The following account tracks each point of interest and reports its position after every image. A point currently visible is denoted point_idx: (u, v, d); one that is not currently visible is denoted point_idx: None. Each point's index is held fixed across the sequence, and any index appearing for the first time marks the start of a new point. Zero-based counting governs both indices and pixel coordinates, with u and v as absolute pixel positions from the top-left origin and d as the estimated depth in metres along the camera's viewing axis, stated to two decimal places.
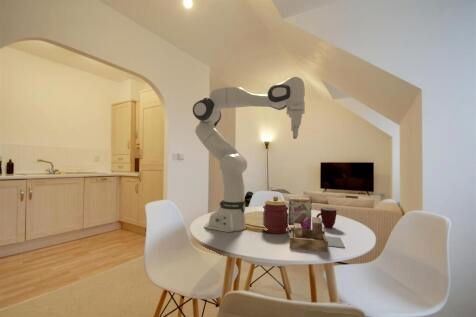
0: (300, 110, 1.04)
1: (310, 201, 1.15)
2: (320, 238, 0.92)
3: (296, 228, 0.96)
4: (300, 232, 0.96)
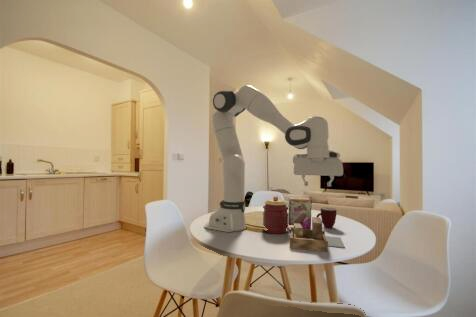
0: None
1: (310, 201, 1.15)
2: (320, 238, 0.92)
3: (297, 228, 0.96)
4: (301, 232, 0.96)
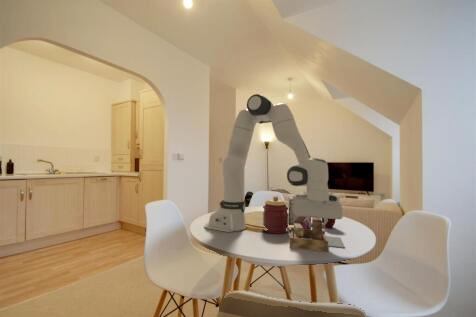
0: None
1: None
2: (320, 238, 0.92)
3: (298, 228, 0.96)
4: (302, 232, 0.96)
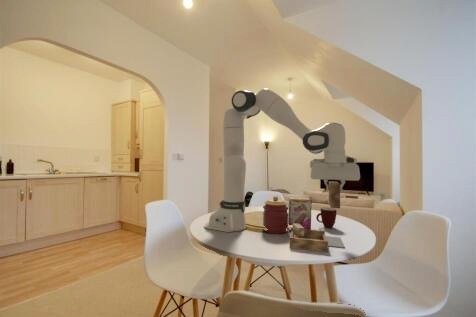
0: None
1: (310, 201, 1.15)
2: (338, 198, 0.96)
3: (299, 228, 0.96)
4: (303, 232, 0.96)
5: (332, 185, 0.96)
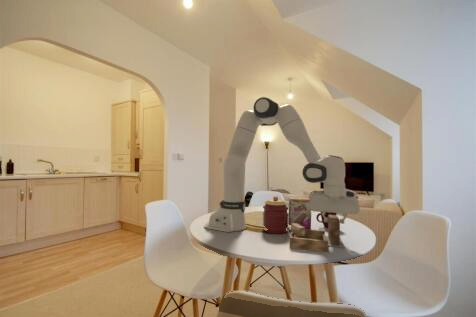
0: None
1: (310, 201, 1.15)
2: (338, 235, 0.95)
3: (300, 228, 0.96)
4: (303, 232, 0.97)
5: (332, 221, 0.96)
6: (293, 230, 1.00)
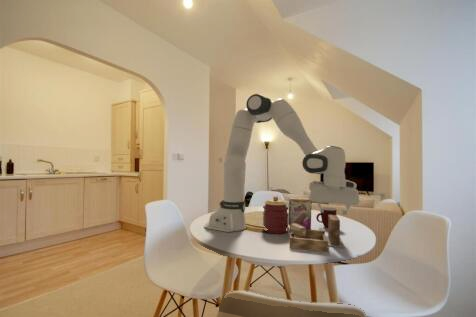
0: None
1: (310, 201, 1.15)
2: (338, 235, 0.95)
3: (301, 228, 0.96)
4: (304, 232, 0.97)
5: (332, 221, 0.96)
6: (293, 230, 1.00)
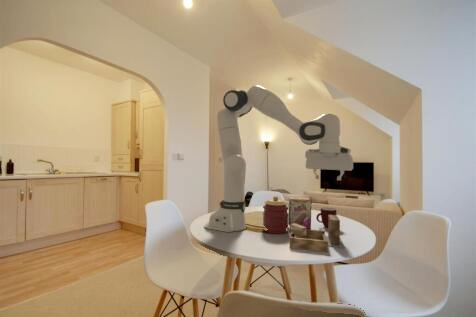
0: None
1: (310, 201, 1.15)
2: (338, 235, 0.95)
3: (302, 228, 0.96)
4: (305, 232, 0.97)
5: (332, 221, 0.96)
6: (293, 230, 1.00)
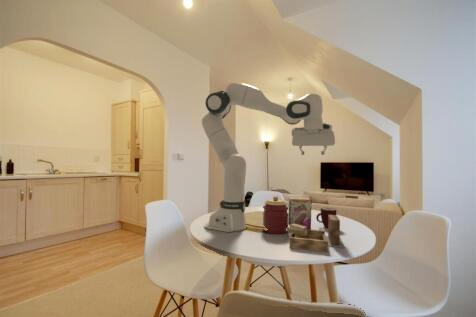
0: None
1: (310, 201, 1.15)
2: (338, 235, 0.95)
3: (303, 228, 0.96)
4: (306, 231, 0.97)
5: (332, 221, 0.96)
6: (294, 231, 0.99)
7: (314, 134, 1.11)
